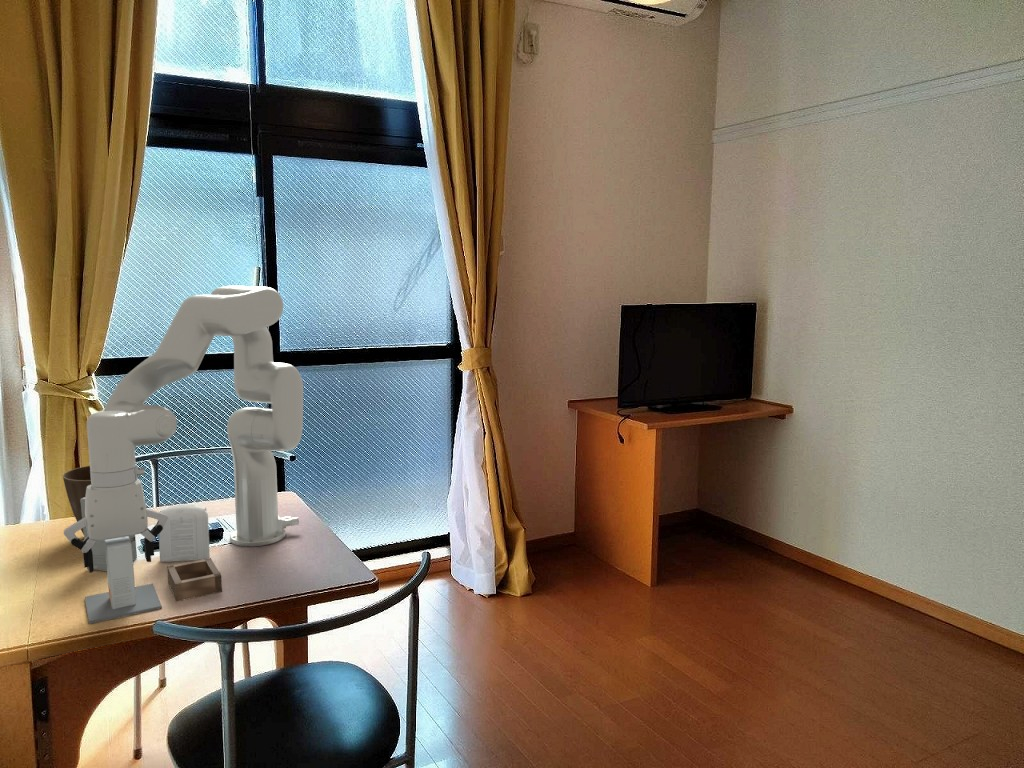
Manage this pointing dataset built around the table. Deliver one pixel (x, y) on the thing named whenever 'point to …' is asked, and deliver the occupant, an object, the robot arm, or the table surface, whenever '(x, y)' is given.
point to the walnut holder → (194, 579)
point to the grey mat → (102, 608)
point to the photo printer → (184, 533)
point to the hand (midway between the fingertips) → (120, 564)
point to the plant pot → (77, 488)
